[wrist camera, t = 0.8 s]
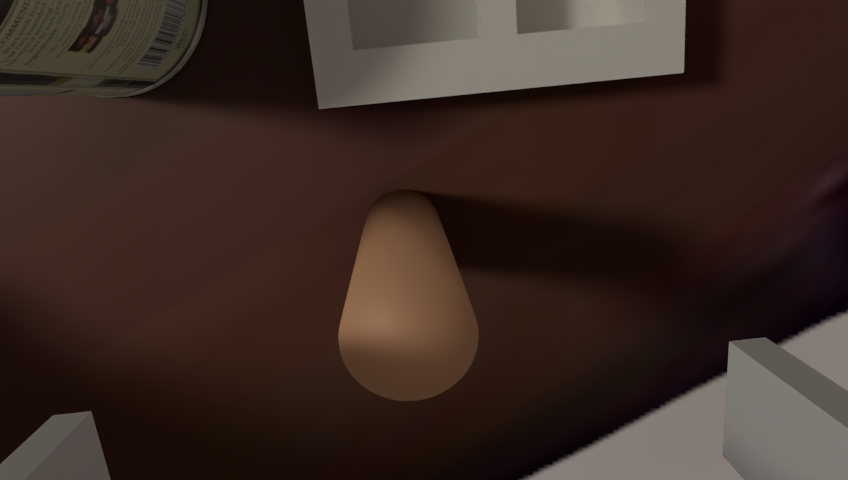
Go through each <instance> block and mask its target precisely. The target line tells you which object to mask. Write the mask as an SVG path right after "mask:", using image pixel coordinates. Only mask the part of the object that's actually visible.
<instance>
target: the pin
mask: <svg viewBox="0 0 848 480" xmlns="http://www.w3.org/2000/svg"><path fill="white" fill-rule="evenodd" d="M477 346H478V326H477V321H476V317H475V314H474V311H473V309H472V306H471V303H470V300H469V298H468V295H467V292H466V289H465V286H464V284H463V281H462V278H461V275H460V273H459V270H458V267H457V264H456V262H455V259H454V256H453V253H452V251H451V248H450V245H449V242H448V240H447V237H446V234H445V231H444V228H443V226H442V223H441V220H440V217H439V215H438V212H437V210H436V208H435V207H434V205H433V204H432V203H431V201H430V200H429V199H427V198H426V197H425V196H423V195H422V194H420V193H418V192H415V191H411V190H404V189H403V190H394V191H391V192H388V193H386V194H384V195H382V196H381V197H379V198H378V199H377V200H376V201H375V202H374V203H373V205H372V206H371V207H370V209H369V211H368V214H367V217H366V221H365V225H364V229H363V233H362V237H361V241H360V245H359V249H358V253H357V257H356V261H355V266H354V270H353V274H352V278H351V282H350V286H349V290H348V294H347V298H346V302H345V306H344V310H343V314H342V318H341V323H340V327H339V348H340V352H341V356H342V359H343V361H344V363H345V365H346V367H347V369H348V371H349V372H350V373H351V375H352V376H353V377H354V378H355V379H356V380H357V381H358V382H359V383H360V384H361V385H362V386H364V387H365V388H366V389H368V390H369V391H371V392H373V393H375V394H377V395H379V396H382V397H385V398H388V399H393V400H398V401H416V400H422V399H427V398H430V397H433V396H436V395H438V394H440V393H442V392H444V391H446V390H447V389H449V388H450V387H452V386H453V385H454V384H456V383H457V382H458V381H459V380H460V379H461V378H462V377H463V375H464V374H465V373H466V372H467V370H468V369H469V367H470V365H471V364H472V361H473V359H474V357H475V354H476V350H477Z"/></svg>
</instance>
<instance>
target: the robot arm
mask: <svg viewBox="0 0 848 480" xmlns="http://www.w3.org/2000/svg"><path fill="white" fill-rule="evenodd" d="M723 456H724V457H725V459H726V460H727V461H728V462H729V463H730V464H731V465H732V466H733V467H734V468H735V470H736V471H737V472H738V473H739V474H740V475H741V476H742V477H743V478H744V479H745V480H848V391H847V390H845V389H844V388H842V387H841V386H839V385H838V384H836V383H834V382H833V381H831V380H829V379H828V378H827V377H825V376H824V375H822V374H821V373H819V372H817V371H816V370H814V369H813V368H811V367H810V366H808V365H807V364H805V363H804V362H802V361H801V360H799V359H797V358H796V357H795V356H793V355H791V354H790V353H788V352H787V351H785V350H784V349H782V348H781V347H779V346H778V345H776V344H775V343H773V342H772V341H770V340H768V339H767V338H765V337H764V338H755V339H746V340H737V341H729V352H728V371H727V391H726V408H725V426H724V445H723ZM0 480H111V479H110V475H109V472H108V468H107V465H106V461H105V458H104V454H103V451H102V447H101V444H100V440H99V437H98V433H97V430H96V426H95V422H94V419H93V415H92V412H91V411H87V412H78V413H69V414H60V415H53V416H52V417H51V418H49V419H48V420H47V421H46V422H45V423H44V424H43V425H42V426H41V427H40V428H39V429H38V430H37V431H35V432H34V433H33V434H32V435H31V436H30V437H29V438H28V439H27V440H26V441H25V442H24V443H22V444H21V445H20V446H19V447H18V448H17V449H16V450H15V451H14V452H13V453H12V454H11V455H10V456H8V457H7V458H6V459H5V460H4V461H3V462H2V463H1V464H0Z"/></svg>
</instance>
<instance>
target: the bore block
mask: <svg viewBox="0 0 848 480" xmlns="http://www.w3.org/2000/svg"><path fill="white" fill-rule="evenodd" d="M303 1H304V8H305V15H306V22H307V29H308V36H309V43H310V50H311V57H312V64H313V71H314V78H315V85H316V92H317V99H318V107H319V109H325V108H335V107H345V106H355V105H365V104H375V103H385V102H395V101H406V100H416V99H426V98H436V97H446V96H456V95H466V94H476V93H486V92H496V91H506V90H516V89H526V88H536V87H546V86H556V85H566V84H576V83H586V82H597V81H607V80H617V79H627V78H637V77H647V76H657V75H667V74H677V73H684V52H685V13H686V0H303Z"/></svg>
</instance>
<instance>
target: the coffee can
mask: <svg viewBox="0 0 848 480" xmlns="http://www.w3.org/2000/svg"><path fill="white" fill-rule="evenodd" d="M207 4H208V0H0V96H82V95H92V96H97V97H104V98H114V97H128V96H132V95H137V94H141V93H144V92H147V91H149V90H152V89H154V88H156V87H158V86H160V85H161V84H163V83H165V82H166V81H168V80H169V79H170V78H172V77H173V76H174V75H175V74H176V73H177V72H179V71H180V70H181V69H182V67H183V66H184V65H185V63H186V62H187V61H188V59H189V58H190V57H191V55H192V54H193V52H194V50H195V48H196V46H197V44H198V42H199V40H200V38H201V35H202V32H203V28H204V25H205V20H206V15H207Z"/></svg>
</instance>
